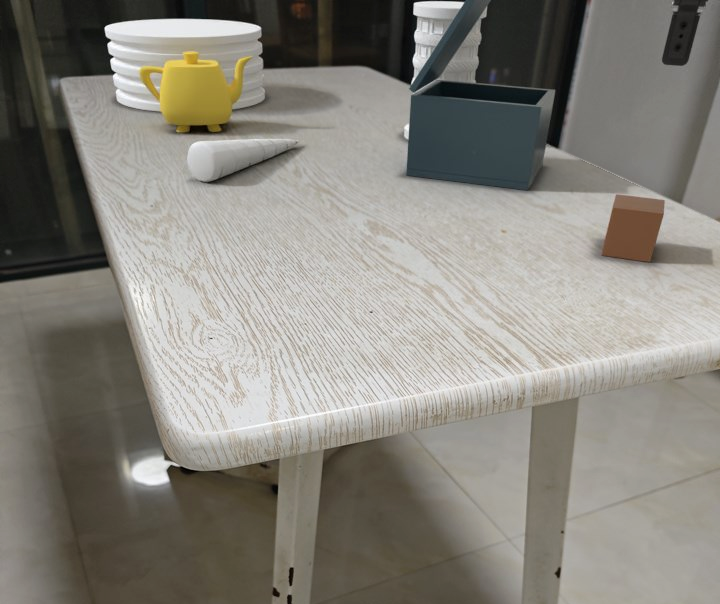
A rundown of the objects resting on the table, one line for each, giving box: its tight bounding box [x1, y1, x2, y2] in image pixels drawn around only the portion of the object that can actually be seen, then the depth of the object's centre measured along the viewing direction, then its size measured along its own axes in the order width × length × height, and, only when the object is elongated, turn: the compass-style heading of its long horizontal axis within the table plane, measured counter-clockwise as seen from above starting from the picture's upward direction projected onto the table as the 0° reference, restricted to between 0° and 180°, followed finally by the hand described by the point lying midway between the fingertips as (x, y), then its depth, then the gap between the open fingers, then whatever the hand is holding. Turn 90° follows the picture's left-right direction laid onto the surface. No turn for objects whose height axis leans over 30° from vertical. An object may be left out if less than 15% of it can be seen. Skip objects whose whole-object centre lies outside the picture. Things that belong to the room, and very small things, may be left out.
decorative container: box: [403, 0, 488, 140], centre depth 109 cm, size 12×12×18 cm
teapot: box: [139, 51, 253, 133], centre depth 114 cm, size 18×11×11 cm, turn 101°
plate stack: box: [104, 18, 266, 113], centre depth 132 cm, size 28×28×12 cm
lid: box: [408, 0, 492, 94], centre depth 89 cm, size 18×13×6 cm
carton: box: [600, 193, 666, 263], centre depth 75 cm, size 5×5×5 cm
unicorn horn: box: [186, 138, 300, 183], centre depth 99 cm, size 5×24×5 cm, turn 148°
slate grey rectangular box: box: [405, 80, 556, 191], centre depth 97 cm, size 17×13×10 cm
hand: (675, 58), depth 65 cm, fingers open, 8 cm apart
